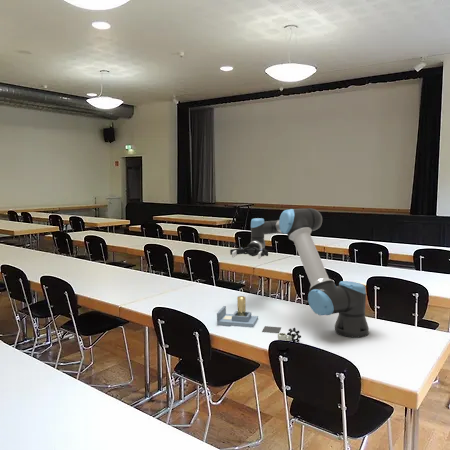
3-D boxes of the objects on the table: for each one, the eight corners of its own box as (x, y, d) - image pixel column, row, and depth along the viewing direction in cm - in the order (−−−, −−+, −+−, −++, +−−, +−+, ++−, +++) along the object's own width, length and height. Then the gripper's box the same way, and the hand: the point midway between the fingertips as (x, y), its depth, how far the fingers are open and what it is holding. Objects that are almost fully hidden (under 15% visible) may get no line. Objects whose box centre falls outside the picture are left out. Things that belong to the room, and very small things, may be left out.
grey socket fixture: (258, 320, 218) (258, 308, 217) (253, 328, 207) (253, 316, 206) (223, 317, 223) (223, 306, 222) (217, 325, 211) (216, 313, 211)
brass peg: (246, 317, 216) (246, 296, 214) (244, 320, 212) (244, 298, 210) (238, 317, 217) (238, 295, 215) (236, 319, 213) (236, 298, 211)
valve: (286, 353, 178) (301, 344, 187) (286, 337, 177) (301, 329, 186) (272, 349, 182) (288, 340, 191) (272, 334, 181) (288, 326, 190)
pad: (281, 328, 206) (281, 327, 206) (278, 334, 198) (278, 333, 198) (264, 326, 208) (264, 326, 208) (261, 332, 201) (261, 331, 200)
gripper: (276, 256, 237) (270, 263, 217) (232, 254, 244) (222, 261, 224) (276, 242, 236) (270, 248, 216) (232, 241, 243) (221, 247, 223)
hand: (245, 255), depth 220 cm, fingers open, 13 cm apart
